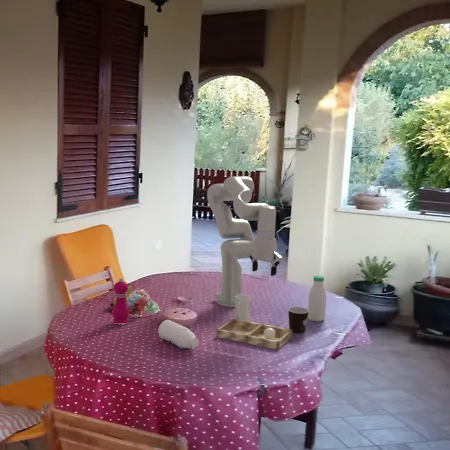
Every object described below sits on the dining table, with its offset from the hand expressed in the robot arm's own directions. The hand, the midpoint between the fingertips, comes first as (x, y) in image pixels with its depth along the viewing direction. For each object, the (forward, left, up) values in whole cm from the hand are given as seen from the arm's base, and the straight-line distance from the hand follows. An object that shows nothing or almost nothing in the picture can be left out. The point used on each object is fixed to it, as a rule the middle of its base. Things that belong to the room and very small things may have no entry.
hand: (264, 273), depth 257 cm
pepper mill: (-52, -32, -23) cm, 66 cm away
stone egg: (+11, -19, -22) cm, 31 cm away
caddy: (+5, -19, -23) cm, 30 cm away
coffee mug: (+19, -2, -23) cm, 30 cm away
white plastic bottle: (-18, -40, -23) cm, 50 cm away
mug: (-7, -6, -23) cm, 25 cm away
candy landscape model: (-58, -12, -23) cm, 64 cm away
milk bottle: (+20, +18, -23) cm, 35 cm away
